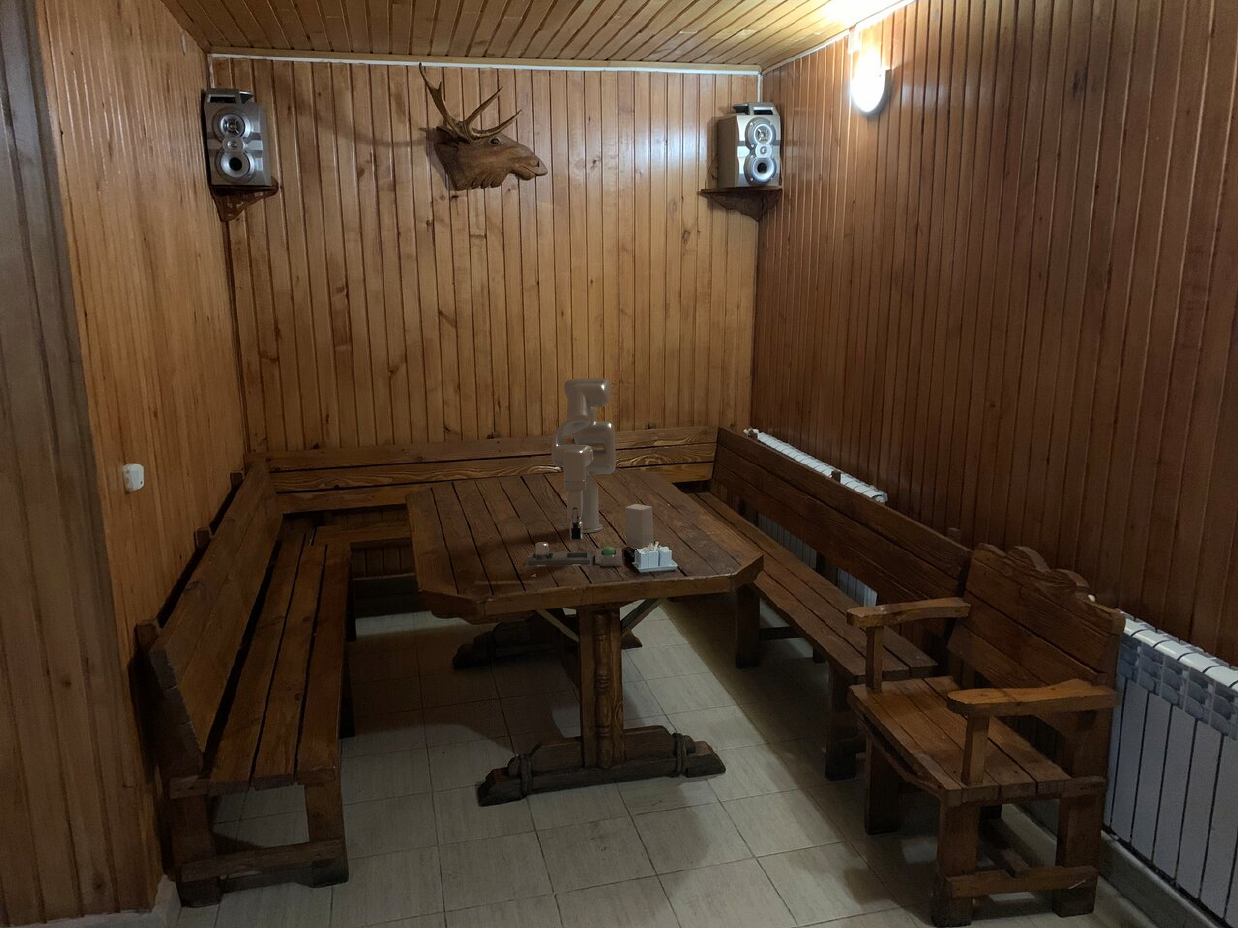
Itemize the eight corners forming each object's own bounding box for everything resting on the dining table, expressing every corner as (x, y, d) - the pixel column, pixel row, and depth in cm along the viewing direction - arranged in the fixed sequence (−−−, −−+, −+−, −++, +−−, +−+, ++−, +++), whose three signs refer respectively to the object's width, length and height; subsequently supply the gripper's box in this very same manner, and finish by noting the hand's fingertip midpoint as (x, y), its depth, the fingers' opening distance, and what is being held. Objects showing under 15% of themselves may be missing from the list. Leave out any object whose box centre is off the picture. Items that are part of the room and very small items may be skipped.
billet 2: (570, 537, 312) (569, 520, 311) (583, 536, 312) (582, 520, 311) (569, 540, 307) (569, 523, 306) (582, 540, 307) (582, 523, 306)
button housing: (596, 558, 316) (596, 548, 315) (621, 557, 316) (621, 548, 315) (595, 566, 307) (595, 556, 306) (621, 566, 307) (621, 556, 306)
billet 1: (536, 558, 314) (535, 542, 312) (549, 558, 314) (548, 541, 312) (535, 562, 309) (534, 545, 308) (548, 562, 309) (547, 545, 308)
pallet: (528, 557, 318) (528, 550, 317) (593, 556, 318) (593, 549, 317) (524, 569, 305) (524, 562, 305) (592, 568, 305) (592, 561, 305)
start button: (603, 554, 313) (602, 546, 313) (614, 554, 313) (614, 546, 313) (602, 558, 309) (602, 550, 309) (614, 558, 309) (614, 549, 309)
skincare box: (654, 547, 327) (653, 506, 324) (642, 552, 322) (641, 510, 319) (636, 543, 332) (636, 502, 329) (624, 547, 328) (624, 506, 324)
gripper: (565, 479, 314) (566, 530, 318) (562, 490, 298) (564, 544, 301) (586, 479, 314) (588, 530, 318) (585, 490, 298) (586, 543, 301)
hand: (576, 536), depth 309 cm, fingers closed on billet 2, 4 cm apart
